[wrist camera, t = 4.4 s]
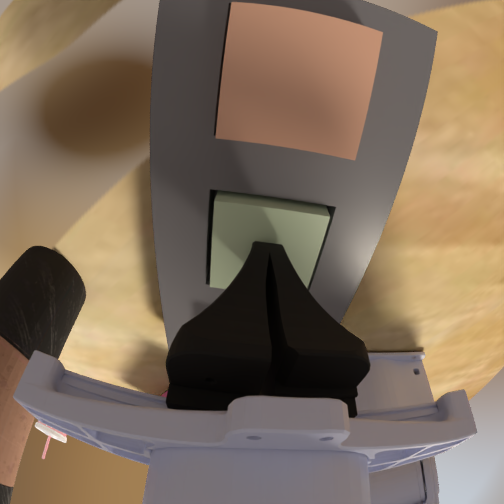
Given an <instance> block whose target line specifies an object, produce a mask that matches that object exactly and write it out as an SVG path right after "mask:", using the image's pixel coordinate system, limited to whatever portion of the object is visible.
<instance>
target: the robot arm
mask: <svg viewBox="0 0 504 504" xmlns="http://www.w3.org/2000/svg"><path fill="white" fill-rule="evenodd" d="M424 357H425V352H396V353H368V352H367V350H366V347H365V344H364V342H363V341H362V340H360V339H359V338H358V337H356V336H355V335H353V334H352V333H350V332H349V331H348V330H346V329H345V328H344V327H343V326H342V325H340V324H339V323H338V322H337V321H336V320H335V319H334V318H332V317H331V316H330V315H329V314H328V313H327V312H326V311H325V310H324V309H323V308H322V307H321V305H320V304H319V303H318V302H317V301H316V300H315V298H314V297H313V296H312V295H311V293H310V292H309V291H308V289H307V288H306V286H305V285H304V283H303V282H302V280H301V279H300V277H299V276H298V274H297V272H296V270H295V269H294V267H293V265H292V263H291V261H290V259H289V257H288V255H287V253H286V251H285V249H284V247H283V245H282V244H274V243H267V242H259V241H254V242H253V243H252V248H251V251H250V253H249V255H248V257H247V259H246V261H245V263H244V265H243V266H242V268H241V270H240V271H239V273H238V274H237V275H236V277H235V278H234V280H233V281H232V282H231V284H230V285H229V286H228V287H227V288H226V290H225V291H224V292H223V293H222V294H221V295H220V296H219V297H218V298H217V299H216V300H215V301H214V302H213V303H212V304H211V305H209V306H208V307H207V308H206V309H204V310H203V311H202V312H201V313H200V314H198V315H197V316H195V317H194V318H192V319H191V320H189V321H188V322H186V323H185V324H183V325H182V326H181V328H180V329H179V331H178V332H177V334H176V336H175V338H174V339H173V342H172V344H171V346H170V348H169V352H168V355H167V359H166V369H167V374H168V378H169V382H170V384H169V388H168V393H167V397H162V396H157V395H153V394H148V393H144V392H140V391H135V390H131V389H127V388H124V387H120V386H116V385H112V384H109V383H105V382H102V381H99V380H95V379H92V378H89V377H86V376H83V375H80V374H77V373H74V372H71V371H68V370H65V368H64V366H63V364H62V363H61V362H60V361H59V360H58V359H56V358H55V357H53V356H50V355H47V354H45V353H42V352H40V351H37V350H35V351H34V352H33V354H32V356H31V358H30V360H29V362H28V364H27V366H26V368H25V371H24V373H23V375H22V377H21V379H20V381H19V384H18V386H17V388H16V390H15V393H14V395H13V398H14V399H15V400H16V401H17V402H18V403H19V404H20V405H21V406H22V407H23V408H25V409H26V410H27V411H28V412H29V413H30V414H31V415H33V416H34V417H35V418H36V419H37V420H39V421H40V422H41V423H43V424H46V425H48V426H50V427H52V428H54V429H56V430H58V431H60V432H62V433H65V434H67V435H69V436H71V437H74V438H76V439H78V440H81V441H83V442H85V443H87V444H90V445H92V446H95V447H97V448H100V449H102V450H105V451H107V452H110V453H113V454H116V455H119V456H121V457H124V458H128V459H130V460H134V461H137V462H140V463H143V464H146V465H149V469H148V474H147V480H146V486H145V492H144V497H143V504H439V499H438V493H439V484H438V476H437V470H436V464H435V458H434V456H435V455H438V454H442V453H445V452H446V451H448V450H450V449H452V448H454V447H455V446H457V445H459V444H461V443H462V442H464V441H466V440H467V439H469V438H470V437H472V436H474V435H475V434H476V433H477V429H476V425H475V422H474V418H473V414H472V411H471V408H470V404H469V401H468V398H467V395H466V392H465V390H464V389H463V390H458V391H452V392H448V393H446V394H444V395H443V396H441V397H440V398H439V399H438V400H437V401H436V402H434V399H433V395H432V392H431V389H430V385H429V382H428V378H427V375H426V372H425V369H424V366H423V363H422V359H423V358H424ZM425 487H426V489H425Z"/></svg>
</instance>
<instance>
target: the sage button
mask: <svg viewBox="0 0 504 504" xmlns="http://www.w3.org/2000/svg"><path fill="white" fill-rule="evenodd" d="M329 219H330V215H329V212H328V209H327V207H326V205H322V204H316V203H310V202H303V201H297V200H290V199H284V198H277V197H270V196H262V195H255V194H247V193H239V192H231V191H222V190H218V192H217V195H216V198H215V200H214V214H213V230H212V249H211V271H210V287H214V288H221V289H226V288H227V287H228V286H229V285H230V284H231V282H232V281H233V280H234V278H235V277H236V275H237V274H238V273H239V271H240V270H241V268H242V266H243V265H244V263H245V261H246V259H247V257H248V255H249V253H250V251H251V248H252V243H253V242H254V241H259V242H267V243H274V244H282V245H283V247H284V249H285V251H286V253H287V255H288V257H289V259H290V261H291V263H292V265H293V267H294V269H295V270H296V272H297V274H298V276H299V277H300V279H301V280H302V282H303V283H304V285H305V286H306V288H308V285H309V282H310V279H311V276H312V273H313V270H314V267H315V264H316V261H317V258H318V255H319V252H320V249H321V245H322V242H323V239H324V236H325V232H326V229H327V226H328V223H329Z"/></svg>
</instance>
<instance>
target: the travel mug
mask: <svg viewBox="0 0 504 504" xmlns="http://www.w3.org/2000/svg"><path fill="white" fill-rule="evenodd" d="M85 298H86V291H85V286H84V283H83V281H82V279H81V277H80V276H79V274H78V273H77V271H76V270H75V269H74V267H73V266H72V265H71V264H70V263H69V262H68V261H67V260H66V259H65V258H64V257H62V256H61V255H60V254H58V253H57V252H55V251H53V250H51V249H49V248H46V247H43V246H33V247H31V248H29V249H28V250H26V251H25V253H23V254H22V255H21V257H20V258H19V259H18V260H17V261H16V262H15V263H14V264H13V265H12V266H11V268H10V269H9V270H8V271H7V272H6V274H5V275H4V276H3V277H2V278H1V279H0V504H10V500H11V496H12V491H13V486H14V483H15V479H16V475H17V471H18V467H19V464H20V460H21V457H22V454H23V450H24V447H25V444H26V441H27V438H28V435H29V432H30V429H31V427H32V424H33V421H34V418H35V417H34V416H33V415H31V414H30V413H29V412H28V411H27V410H26V409H25V408H23V407H22V406H21V405H20V404H19V403H18V402H17V401H16V400H15V399H14V398H13V395H14V393H15V390H16V388H17V386H18V384H19V381H20V379H21V377H22V375H23V373H24V371H25V368H26V366H27V364H28V362H29V360H30V358H31V356H32V354H33V352H34V351H35V350H37V351H40V352H42V353H45V354H47V355H50V356H53V357H55V358H56V359H58V358H59V356H60V354H61V351H62V349H63V347H64V344H65V342H66V340H67V338H68V336H69V333H70V331H71V329H72V327H73V325H74V323H75V321H76V319H77V317H78V314H79V312H80V310H81V308H82V306H83V304H84V301H85Z"/></svg>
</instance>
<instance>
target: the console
mask: <svg viewBox="0 0 504 504" xmlns="http://www.w3.org/2000/svg"><path fill="white" fill-rule="evenodd" d="M232 2H243V3H255V4H264V5H272V6H280V7H286V8H292V9H298V10H303V11H309V12H313V13H318V14H322V15H327V16H331V17H335V18H339V19H342V20H346V21H350V22H353V23H356V24H360V25H363V26H366V27H369V28H372V29H375V30H378V31H381V32H383V35H382V41H381V47H380V53H379V58H378V64H377V69H376V74H375V79H374V84H373V88H372V93H371V98H370V102H369V107H368V111H367V115H366V120H365V124H364V128H363V132H362V136H361V140H360V144H359V148H358V152H357V155H356V159H355V161H354V160H350V159H345V158H341V157H336V156H331V155H326V154H321V153H316V152H310V151H305V150H299V149H293V148H287V147H281V146H274V145H267V144H260V143H252V142H244V141H235V140H226V139H216V128H217V117H218V107H219V97H220V87H221V78H222V70H223V61H224V53H225V45H226V38H227V31H228V23H229V16H230V10H231V3H232ZM437 33H438V32H437V31H435V30H433V29H431V28H429V27H427V26H425V25H423V24H421V23H419V22H417V21H415V20H412V19H410V18H408V17H405V16H403V15H401V14H398V13H396V12H393V11H391V10H388V9H386V8H383V7H380V6H377V5H375V4H372V3H369V2H366V1H363V0H160V3H159V10H158V18H157V25H156V34H155V43H154V55H153V68H152V84H151V105H150V177H151V201H152V217H153V231H154V243H155V254H156V264H157V273H158V282H159V290H160V297H161V305H162V312H163V318H164V325H165V331H166V337H167V343H168V349H169V348H170V346H171V344H172V342H173V339H174V338H175V336H176V334H177V332H178V331H179V329H180V328H181V326H182V325H183V324H185V323H186V322H188V321H189V320H191V319H192V318H194V317H195V316H197V315H198V314H200V313H201V312H202V311H203V310H204V309H206V308H207V307H208V306H209V305H211V304H212V303H213V302H214V301H215V300H216V299H217V298H218V297H219V296H220V295H221V294H222V293H223V292H224V291H225V290H226V289H221V288H214V287H210V271H211V249H212V230H213V214H214V200H215V198H216V195H217V192H218V190H222V191H231V192H239V193H247V194H255V195H262V196H270V197H277V198H284V199H290V200H297V201H303V202H310V203H316V204H322V205H326V207H327V209H328V212H329V215H330V219H329V223H328V226H327V229H326V232H325V236H324V239H323V242H322V245H321V249H320V252H319V255H318V258H317V261H316V264H315V267H314V270H313V273H312V276H311V279H310V282H309V285H308V288H307V289H308V291H309V292H310V293H311V295H312V296H313V297H314V298H315V300H316V301H317V302H318V303H319V304H320V305H321V307H322V308H323V309H324V310H325V311H326V312H327V313H328V314H329V315H330V316H331V317H332V318H334V319H335V320H336V321H337V322H338V323H339V324H340V323H341V321H342V319H343V317H344V315H345V313H346V311H347V309H348V307H349V305H350V303H351V301H352V299H353V297H354V295H355V293H356V290H357V288H358V286H359V284H360V282H361V280H362V278H363V275H364V273H365V271H366V269H367V267H368V264H369V262H370V260H371V258H372V255H373V253H374V251H375V248H376V246H377V244H378V241H379V239H380V236H381V234H382V231H383V229H384V226H385V224H386V221H387V219H388V216H389V214H390V211H391V208H392V206H393V203H394V200H395V197H396V195H397V192H398V189H399V186H400V183H401V180H402V177H403V174H404V171H405V168H406V165H407V162H408V159H409V156H410V153H411V149H412V146H413V142H414V139H415V136H416V132H417V128H418V125H419V121H420V117H421V113H422V109H423V105H424V101H425V97H426V93H427V88H428V84H429V79H430V74H431V69H432V64H433V58H434V52H435V46H436V40H437Z"/></svg>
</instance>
